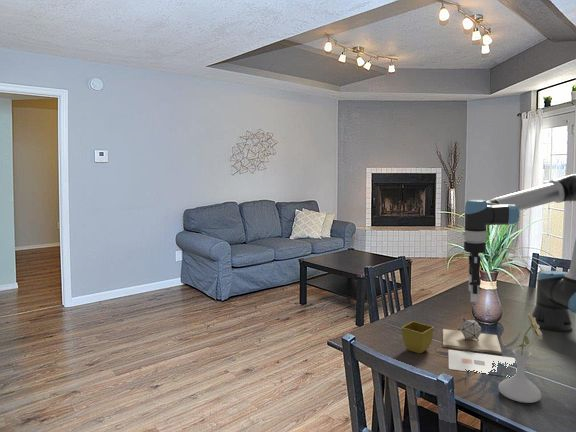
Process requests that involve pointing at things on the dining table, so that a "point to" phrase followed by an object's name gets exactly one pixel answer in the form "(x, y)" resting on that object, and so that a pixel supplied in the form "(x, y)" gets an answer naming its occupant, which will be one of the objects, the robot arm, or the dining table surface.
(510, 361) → the card
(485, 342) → the wooden pad
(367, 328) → the dining table surface
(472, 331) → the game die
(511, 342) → the dining table surface
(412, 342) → the flower pot
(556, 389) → the dining table surface
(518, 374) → the flower in vase
